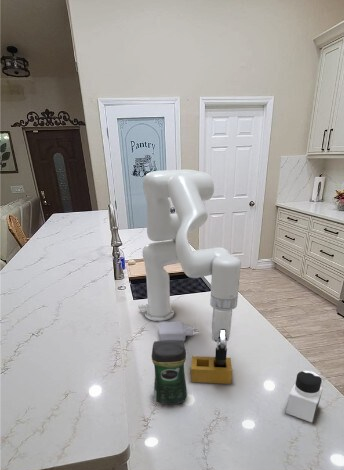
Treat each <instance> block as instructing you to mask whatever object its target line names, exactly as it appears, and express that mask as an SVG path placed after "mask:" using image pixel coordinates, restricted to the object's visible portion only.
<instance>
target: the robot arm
mask: <svg viewBox="0 0 344 470" xmlns="http://www.w3.org/2000/svg"><path fill="white" fill-rule="evenodd" d="M142 188H143V193H144V197H145V201H146V207H147V208H146V234H147V237H148V239H149V240H150V241H152V242H150V243H148V244H146V245H145V246H144V247H143V248H142V259H143V264H144V269H145V278H146V293H147V295H146V296H147V303H146V304H138V308H137V309H138V310H139V311H140V312H144V317H145V318H146V319H148V320H149V321H154V322H165V321H168V320H169V319H172V318H173V317H174V315H175V311H174V309H172V308H171V290H170V289H171V286H170V285H171V283H170V274H169V273H168V271H167V270H166V269H165V268H164V267H166V266H170V265H177V264H180V266H181V269H182V271H183V273H184V274H185V276H186V277H188V278H190V279H198V278H199V279H200V278H202V277H204V278H205V277H208V276H211V281H210V300H209V302H210V303H209V304H210V307H211V308H212V317H211V318H212V319H211V320H212V321H211V340H212V341H214V342H215V343H216V347H215V352H214V353H215V355H214V357H215V360H226V358H227V355H228V354H227V353H228V348H227V344H228V343H227V342H228V341H229V340H230V336H231V329H232V320H233V310H235V309H237V306H238V298H239V290H240V289H239V288H240V278H241V270H242V269H241V268H242V262H241V259H240V258H239V257H237V256H236V255H232V254H231V253H230V252H229V251H228V250H227V249H226V248H225V247H220V246H218V247H212V248H211V247H209V248H204V249H197V250H193V249H192V248H191V246H190V243H189V238H188V237H189V235H190V234H192V233H193V232H195V231H196V230H198V229H199V228H201V227H202V226H203V225H204V224H206V221H207V220H208V217H209V214H208V211H207V209H206V207H205V204H204V201H209V200H210V199H211V198H212V197H213V196H214V192H215V184H214V181H213V178H212V177H211V175H210V174H208V172H205V171H200V170H195V169H166V170H165V169H164V170H155V171H150V172H148V173H146V174H145V176H144V177H143V181H142ZM169 198H170V199H169ZM170 200H171V201H170ZM171 203H172V204H171ZM171 205H172V206H173V208H174V210H175V213H171V208H172V207H171Z"/></svg>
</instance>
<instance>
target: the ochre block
mask: <svg viewBox="0 0 344 470" xmlns="http://www.w3.org/2000/svg"><path fill="white" fill-rule="evenodd" d="M215 361H216V360H215V356H200V355H199V356H198V355H197V356H196V355H195V356H194V355H192V356H191V363H190V364H191V365H190V382H191V383H204V384H205V383H206V384H208V383H209V384H224V385H225V384H227V385H231V384H232V378H233V377H232V376H233V367H232V358H231V357H226V360H225V368H224V367H215Z"/></svg>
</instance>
